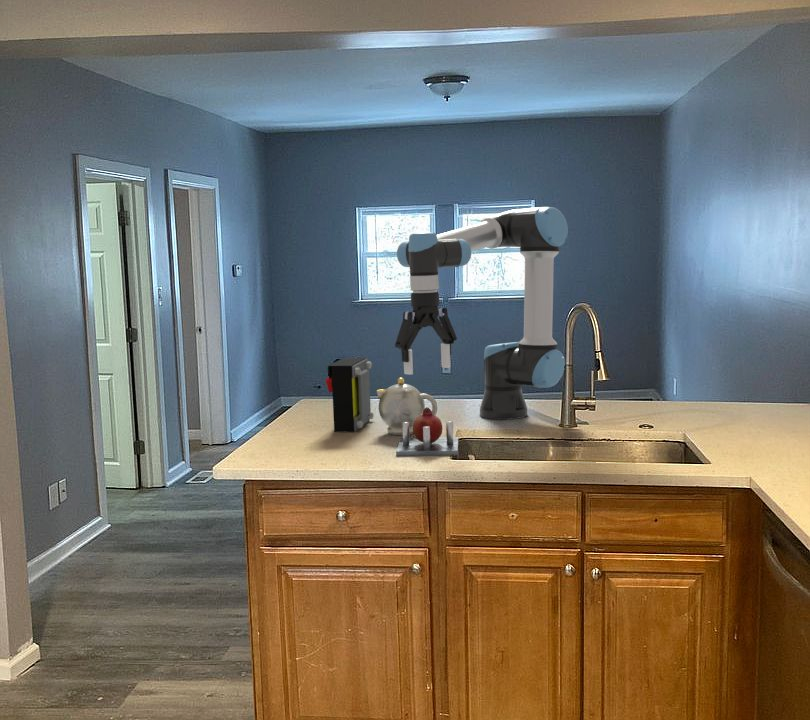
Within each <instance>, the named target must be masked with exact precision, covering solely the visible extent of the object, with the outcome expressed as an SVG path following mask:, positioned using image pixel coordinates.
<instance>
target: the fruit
mask: <svg viewBox="0 0 810 720" xmlns="http://www.w3.org/2000/svg"><path fill="white" fill-rule="evenodd" d="M424 426H430V444H431V443H433V442H435V441H436V440H437V439H438V438H440V437H442V434H443V423H442V421H441V419H440V418H439V417H438V416H437V415H436V416H435V415H433V414H432V409H431V408H429V407H426V406H425V409H424V410H423V414H422V415H420V416H418V417H417V418H416V419H415V421H414V424H413V433H414V434H413V435H414V438H417V439H418V440H419V441H421V442H423V427H424Z"/></svg>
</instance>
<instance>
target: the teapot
mask: <svg viewBox="0 0 810 720" xmlns="http://www.w3.org/2000/svg"><path fill="white" fill-rule="evenodd" d="M376 395H377V397H378V399H379V401H378V412H379V417H380V418H381V420H382V422H384V423H385V425H386V426H388V427H387V433H388V434H390V435H394V436H403V428H402V422H409V436H410V435H414V433H413V424H414V421H415V419H416V418H417V417H418V416H420V415H422V414H423V410H424V409H425V408H426V403H425V400H426V401H429V402H430V403H431V406H432V407H431V408H432V409H431V411H432V414H433V415H435V416H437V412H438V403H437V401H436V399H435V398H434V397H433V396H432V395H430V394H428V393H421V392H420V391H419V390H418V389H417V388H416V387H415V386H413V385H411V384H408V383H405V378H404V377H398V378H397V384H396V383H395V384H393V385H390V386H389V387H388V388H385V389H377V390H376Z"/></svg>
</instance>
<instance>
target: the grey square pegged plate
mask: <svg viewBox="0 0 810 720" xmlns="http://www.w3.org/2000/svg"><path fill="white" fill-rule="evenodd" d="M445 426H446V427H445V431H446V432H445V433H446V434H445V435H446V436H445V437H444V436H443V437H442V436H440V438H438V439H437V440H436V441H435V442H433V443H431V444H430V426H424V427H423V442H421V441H419V440H418V439H417V438H416V437H410V435H409V422H402V428H403V435H402V437H401V438H400V440H399V441H398V442H399V443H398V446H397V448H396V451H395V454H396V457H407V456H408V457H410V456H414V457H415V456H416V457H418V456H422V457H423V456H424V457H425V456H427V457H428V456H458V452H459V437H458V436H454V422H453V421H450V420H448V421H445Z"/></svg>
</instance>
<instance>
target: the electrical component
mask: <svg viewBox="0 0 810 720" xmlns="http://www.w3.org/2000/svg"><path fill="white" fill-rule="evenodd" d="M372 366H373V363H372V362H371V361H369V360H368V358H366V357H343V358H340V359H339V360H337V361H335V362H333V363H331V364H329V365H328V366H327V376H328V378H326V379H325V382H326V386H327V391H328V393H332V410H333V430H334V433H355V432H357V431H358V430H360V429H362V428H363V426H364V425H366V424H367V423H368V422H369V421H371V420H373V419H374V412H373V411H372V409H371V408H372V407H371V387H370V386H371V385H370V383H371V382H370V369H371V368H372ZM354 431H355V432H354Z"/></svg>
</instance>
